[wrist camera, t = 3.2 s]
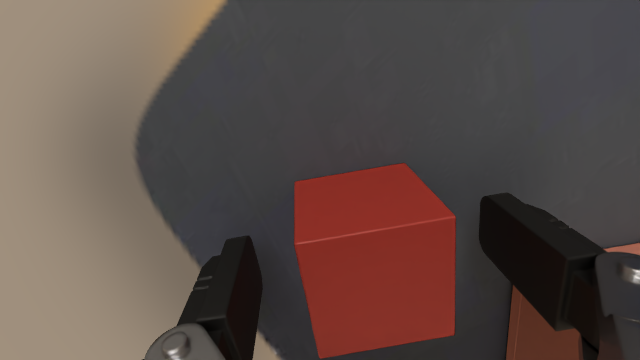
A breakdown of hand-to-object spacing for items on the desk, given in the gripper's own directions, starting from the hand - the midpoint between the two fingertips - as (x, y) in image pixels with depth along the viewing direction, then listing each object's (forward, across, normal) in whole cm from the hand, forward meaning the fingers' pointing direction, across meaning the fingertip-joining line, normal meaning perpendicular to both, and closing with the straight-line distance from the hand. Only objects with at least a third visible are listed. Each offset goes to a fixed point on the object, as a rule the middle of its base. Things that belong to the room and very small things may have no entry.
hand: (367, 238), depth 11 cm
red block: (+1, 0, 0) cm, 1 cm away
